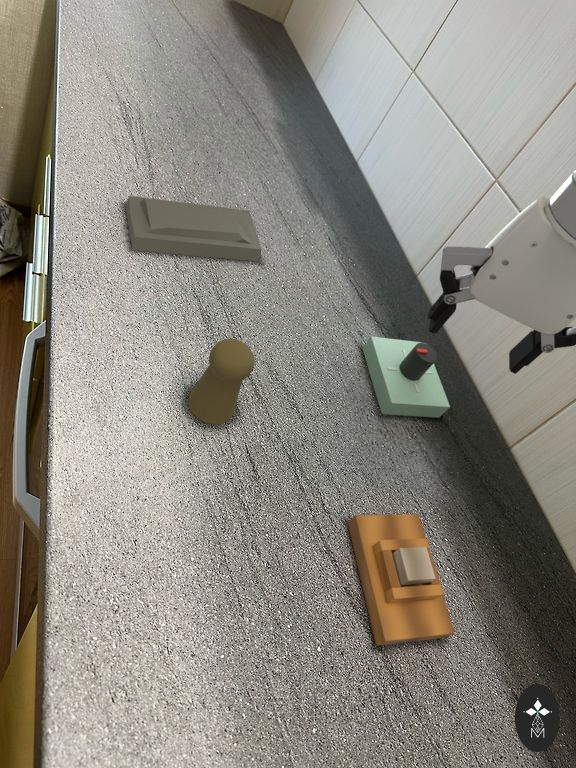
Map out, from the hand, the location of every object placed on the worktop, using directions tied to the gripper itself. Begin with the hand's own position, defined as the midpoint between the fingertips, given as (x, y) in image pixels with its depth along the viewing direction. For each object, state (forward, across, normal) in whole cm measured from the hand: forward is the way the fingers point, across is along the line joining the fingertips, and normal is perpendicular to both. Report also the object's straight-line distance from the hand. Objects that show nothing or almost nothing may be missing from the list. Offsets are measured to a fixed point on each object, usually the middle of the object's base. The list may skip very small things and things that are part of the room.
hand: (472, 344), depth 60 cm
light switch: (+23, -6, +16) cm, 29 cm away
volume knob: (+20, -2, -14) cm, 24 cm away
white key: (+19, -6, +16) cm, 26 cm away
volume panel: (+23, -2, -14) cm, 27 cm away
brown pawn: (+23, +22, +4) cm, 32 cm away
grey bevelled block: (+23, +36, -25) cm, 49 cm away
